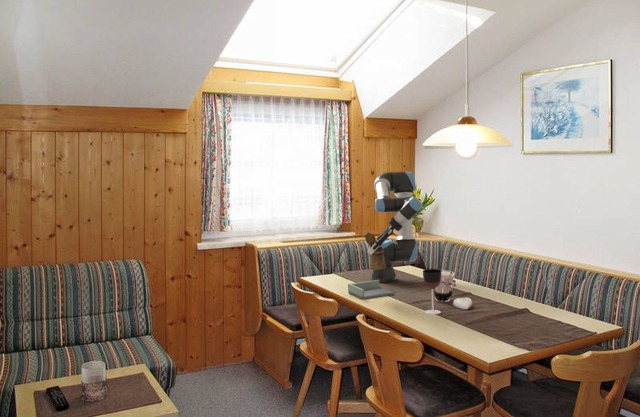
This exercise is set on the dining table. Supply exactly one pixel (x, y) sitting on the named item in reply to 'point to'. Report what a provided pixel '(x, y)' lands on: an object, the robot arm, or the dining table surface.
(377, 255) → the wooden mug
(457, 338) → the dining table surface
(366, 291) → the corner bay
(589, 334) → the dining table surface
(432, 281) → the wineglass
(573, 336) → the dining table surface
